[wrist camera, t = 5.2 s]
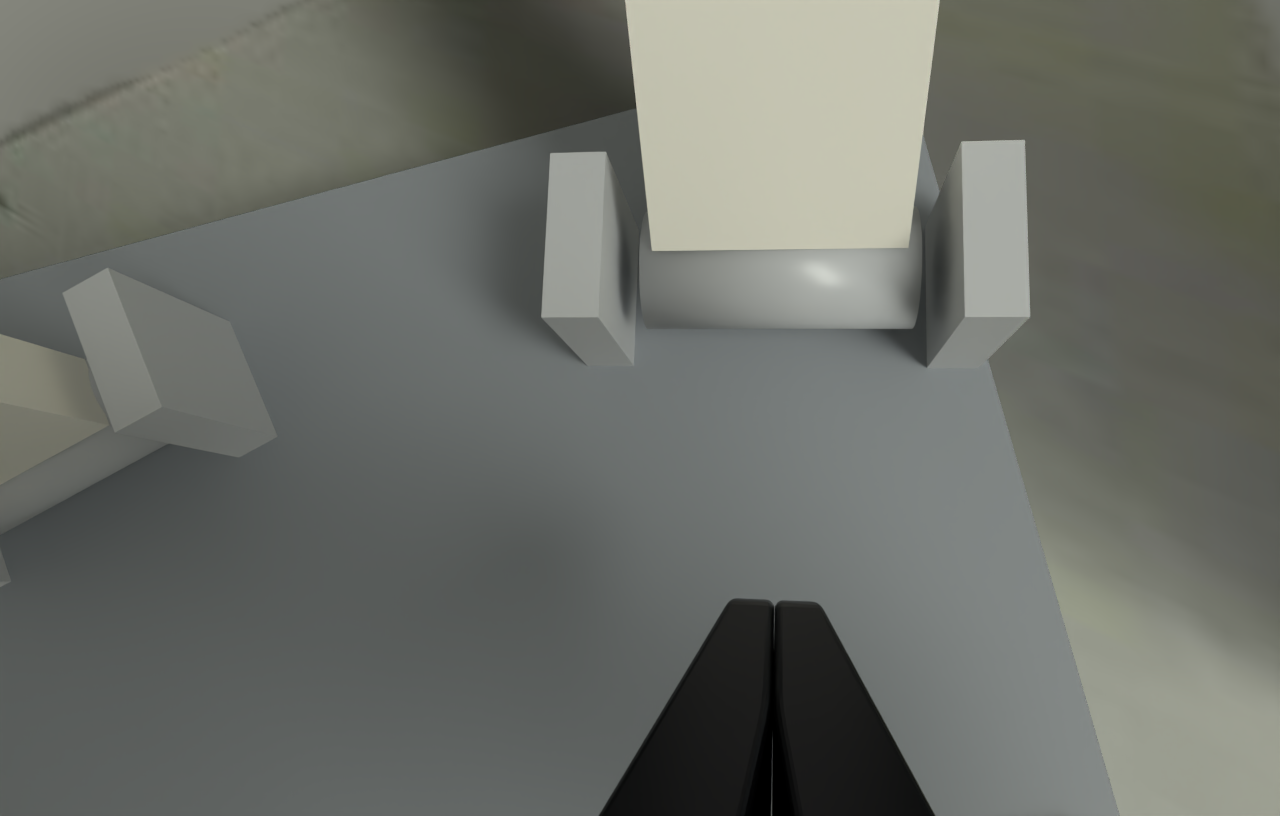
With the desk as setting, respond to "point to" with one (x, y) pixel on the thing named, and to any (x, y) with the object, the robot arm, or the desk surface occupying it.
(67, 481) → the switch
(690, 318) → the switch
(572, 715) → the grey base plate
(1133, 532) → the desk surface
